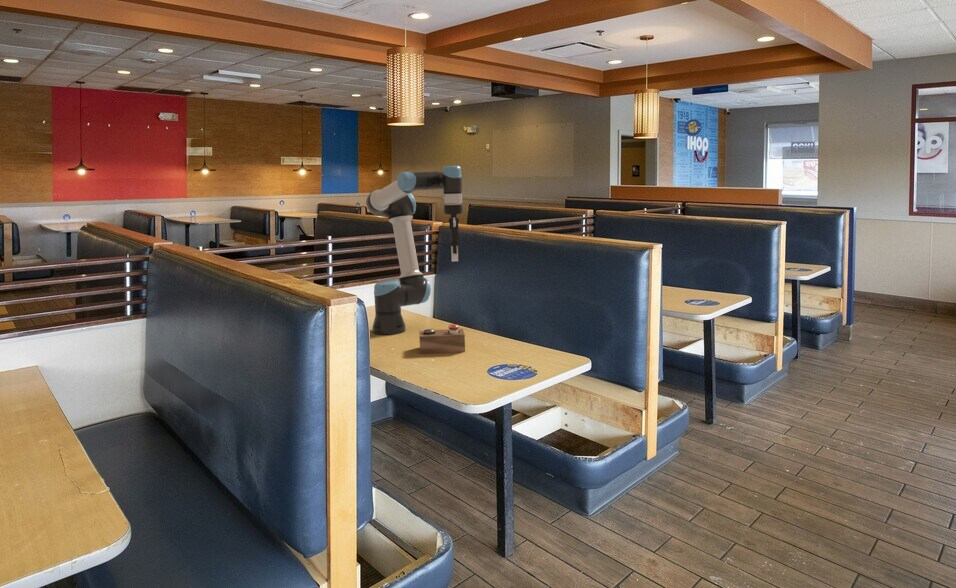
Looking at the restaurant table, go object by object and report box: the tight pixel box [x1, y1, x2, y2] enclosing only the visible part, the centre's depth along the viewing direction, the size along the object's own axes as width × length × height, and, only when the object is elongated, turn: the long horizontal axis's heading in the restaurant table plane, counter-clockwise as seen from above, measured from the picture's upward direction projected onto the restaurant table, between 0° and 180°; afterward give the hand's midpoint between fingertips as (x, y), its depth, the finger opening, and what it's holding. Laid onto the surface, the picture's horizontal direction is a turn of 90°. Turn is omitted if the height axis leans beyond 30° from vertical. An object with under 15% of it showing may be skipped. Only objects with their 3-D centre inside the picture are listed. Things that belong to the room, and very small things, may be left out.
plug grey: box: [423, 328, 435, 335], centre depth 264 cm, size 4×4×8 cm
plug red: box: [448, 323, 460, 334], centre depth 265 cm, size 4×4×8 cm
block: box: [418, 328, 466, 355], centre depth 265 cm, size 10×18×7 cm, turn 95°
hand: (454, 261), depth 272 cm, fingers closed
